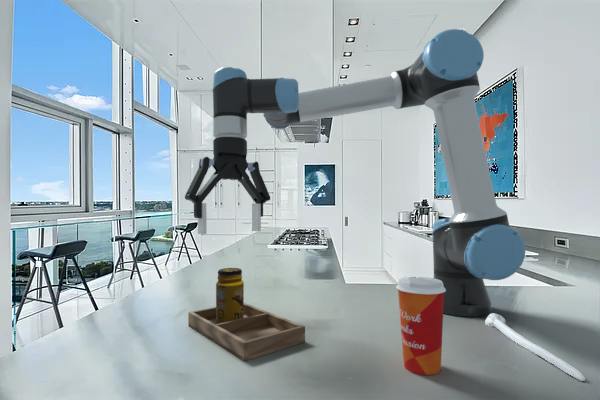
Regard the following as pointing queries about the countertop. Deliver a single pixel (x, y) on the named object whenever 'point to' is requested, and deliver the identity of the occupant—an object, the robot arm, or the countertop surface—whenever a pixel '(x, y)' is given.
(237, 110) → the robot arm
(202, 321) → the caddy
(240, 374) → the countertop surface
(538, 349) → the white nail
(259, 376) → the countertop surface
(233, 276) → the condiment
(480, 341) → the countertop surface
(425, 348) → the paper cup
